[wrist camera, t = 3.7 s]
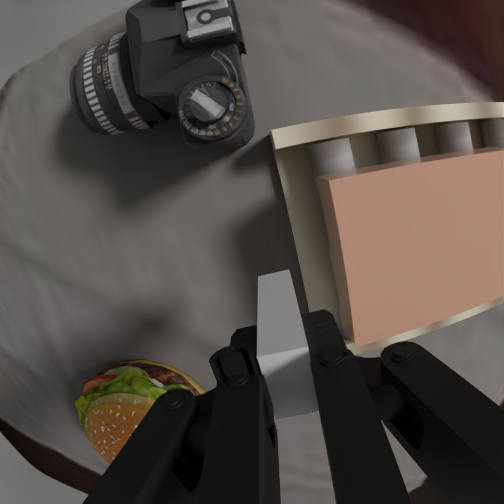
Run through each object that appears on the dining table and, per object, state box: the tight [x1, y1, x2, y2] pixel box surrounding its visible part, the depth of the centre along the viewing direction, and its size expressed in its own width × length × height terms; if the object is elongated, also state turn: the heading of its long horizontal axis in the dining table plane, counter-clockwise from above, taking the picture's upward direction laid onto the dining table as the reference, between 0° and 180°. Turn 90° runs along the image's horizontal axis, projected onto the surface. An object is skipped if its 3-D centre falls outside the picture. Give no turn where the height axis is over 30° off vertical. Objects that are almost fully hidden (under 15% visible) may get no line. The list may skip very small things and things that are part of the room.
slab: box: [317, 147, 504, 347], centre depth 18 cm, size 14×10×4 cm
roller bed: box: [269, 102, 504, 355], centre depth 19 cm, size 33×17×8 cm, turn 104°
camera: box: [69, 0, 255, 153], centre depth 16 cm, size 14×11×10 cm
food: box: [74, 360, 206, 464], centre depth 25 cm, size 14×14×8 cm
